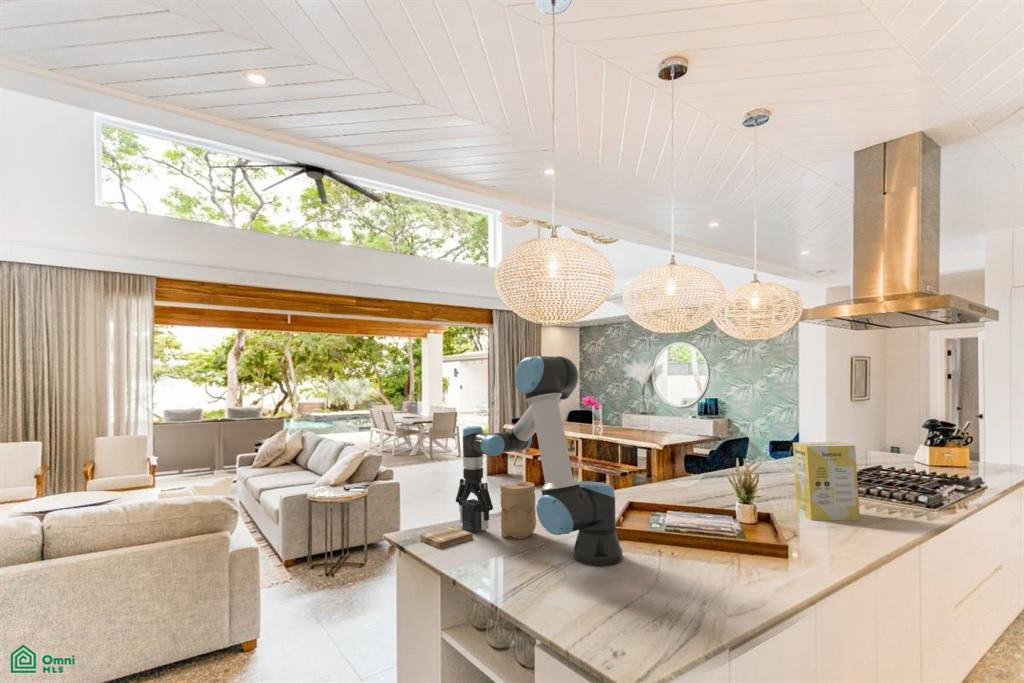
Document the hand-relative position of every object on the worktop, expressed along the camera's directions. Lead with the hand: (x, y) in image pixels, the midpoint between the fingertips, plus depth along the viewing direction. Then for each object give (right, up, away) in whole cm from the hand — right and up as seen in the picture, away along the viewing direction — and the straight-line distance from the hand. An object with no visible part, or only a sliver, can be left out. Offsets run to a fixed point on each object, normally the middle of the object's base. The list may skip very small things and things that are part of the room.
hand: (474, 525), depth 189 cm
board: (-9, -1, -11) cm, 14 cm away
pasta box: (+138, +1, +8) cm, 139 cm away
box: (0, -2, 0) cm, 2 cm away
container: (+17, -1, -8) cm, 18 cm away
